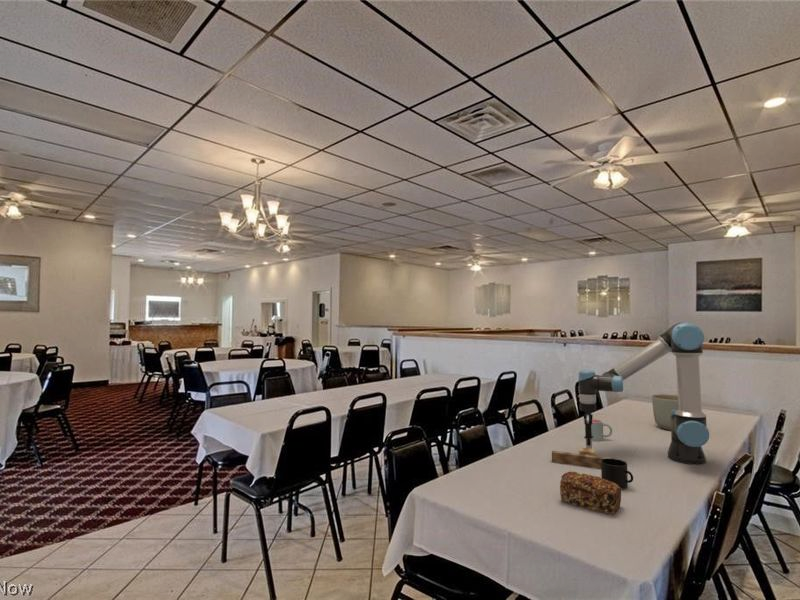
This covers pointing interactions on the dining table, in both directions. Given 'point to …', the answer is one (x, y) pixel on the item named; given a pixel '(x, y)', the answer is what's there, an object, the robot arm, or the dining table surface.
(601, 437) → the mug
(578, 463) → the board
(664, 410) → the planter
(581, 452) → the block
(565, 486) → the bread
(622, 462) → the mug
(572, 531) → the dining table surface
